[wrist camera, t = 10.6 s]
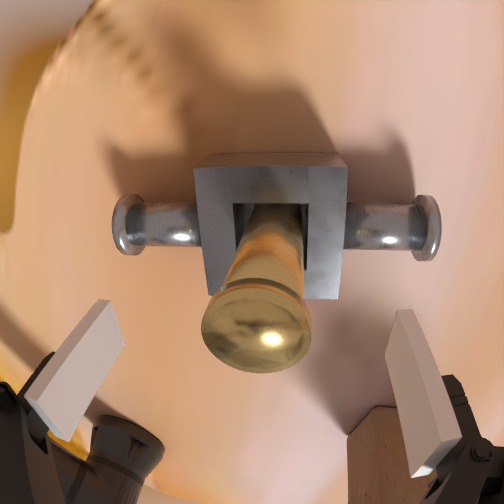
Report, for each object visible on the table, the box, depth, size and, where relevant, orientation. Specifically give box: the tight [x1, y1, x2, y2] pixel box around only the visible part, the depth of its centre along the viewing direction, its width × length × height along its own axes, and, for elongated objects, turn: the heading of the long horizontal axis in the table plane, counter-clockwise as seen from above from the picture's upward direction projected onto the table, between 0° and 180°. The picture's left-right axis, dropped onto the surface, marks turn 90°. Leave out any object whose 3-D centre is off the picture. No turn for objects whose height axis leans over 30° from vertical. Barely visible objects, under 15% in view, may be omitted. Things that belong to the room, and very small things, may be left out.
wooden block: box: [347, 407, 437, 504], centre depth 30 cm, size 10×10×20 cm
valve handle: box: [201, 203, 311, 373], centre depth 19 cm, size 5×5×14 cm
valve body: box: [112, 152, 441, 299], centre depth 24 cm, size 25×10×6 cm, turn 93°
